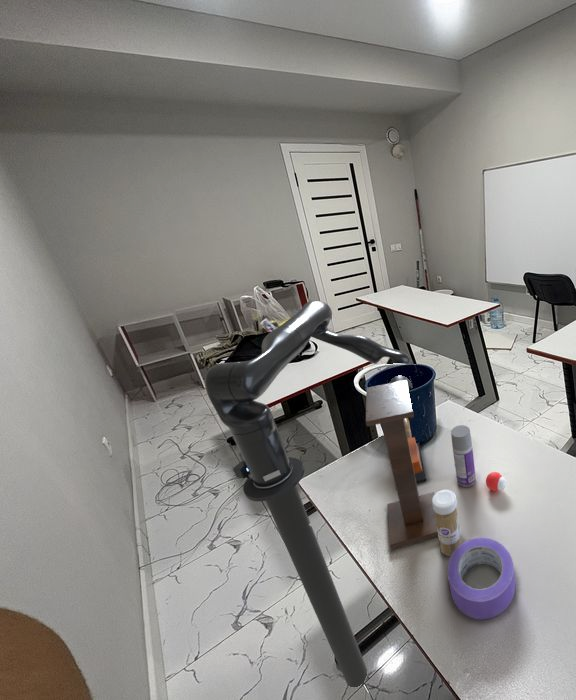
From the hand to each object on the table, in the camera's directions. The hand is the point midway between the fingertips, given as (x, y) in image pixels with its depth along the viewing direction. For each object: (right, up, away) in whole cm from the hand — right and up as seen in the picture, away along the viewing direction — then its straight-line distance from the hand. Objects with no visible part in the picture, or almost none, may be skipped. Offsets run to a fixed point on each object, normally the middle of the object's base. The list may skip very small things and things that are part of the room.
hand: (404, 418), depth 95 cm
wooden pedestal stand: (+5, -20, -17) cm, 26 cm away
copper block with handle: (+2, -5, -4) cm, 6 cm away
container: (+16, -14, -7) cm, 23 cm away
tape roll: (+19, -25, -30) cm, 44 cm away
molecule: (+24, -15, -10) cm, 30 cm away
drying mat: (+1, -12, +1) cm, 12 cm away
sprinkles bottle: (+13, -22, -23) cm, 34 cm away
